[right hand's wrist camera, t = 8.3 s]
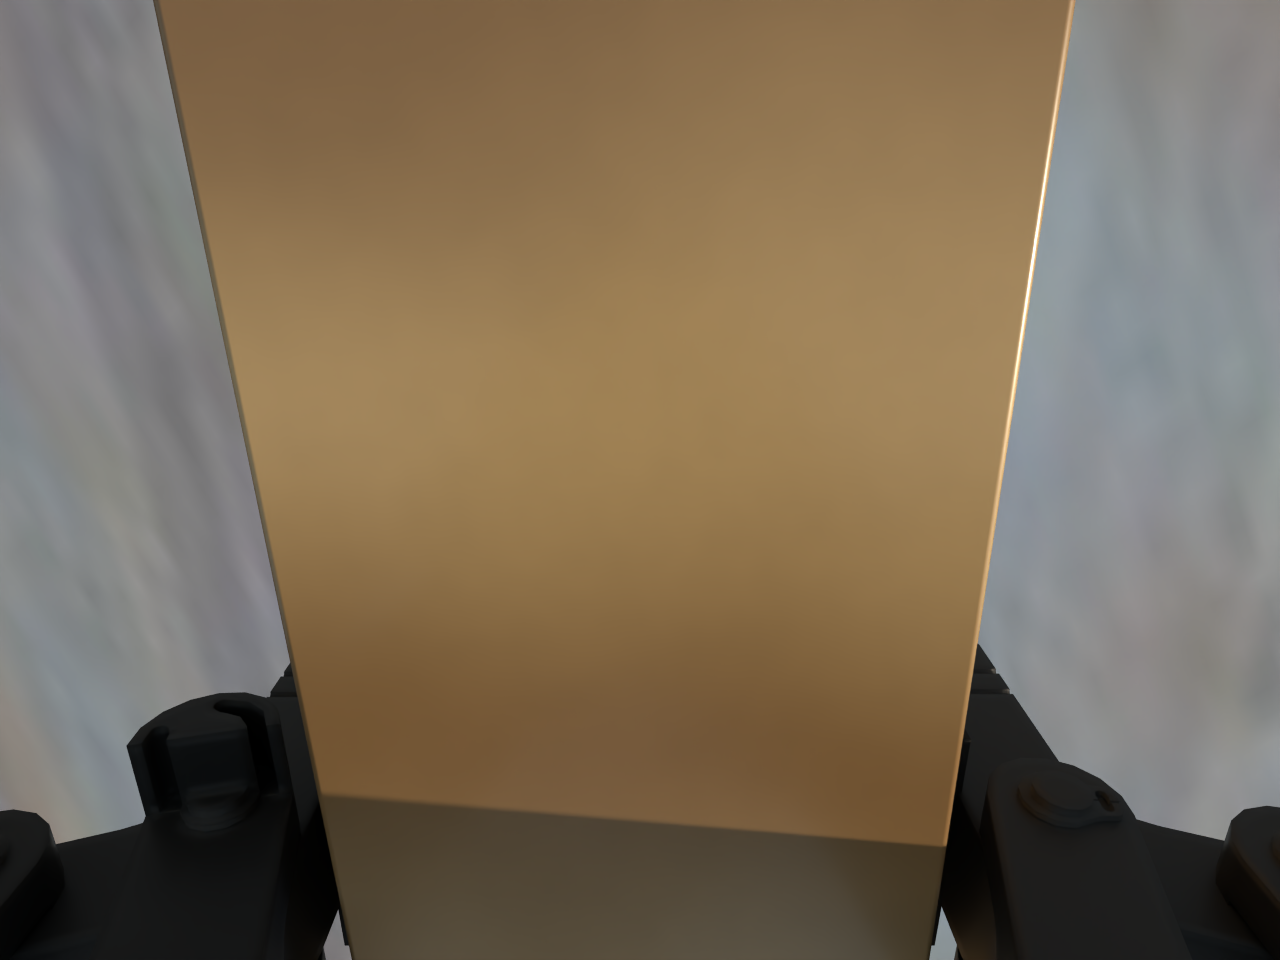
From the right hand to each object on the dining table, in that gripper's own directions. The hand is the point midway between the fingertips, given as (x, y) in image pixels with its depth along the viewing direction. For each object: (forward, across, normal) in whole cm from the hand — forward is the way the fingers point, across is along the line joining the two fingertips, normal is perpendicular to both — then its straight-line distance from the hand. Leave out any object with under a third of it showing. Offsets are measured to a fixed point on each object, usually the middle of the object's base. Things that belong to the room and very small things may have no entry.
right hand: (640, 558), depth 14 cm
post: (0, +1, -29) cm, 29 cm away
